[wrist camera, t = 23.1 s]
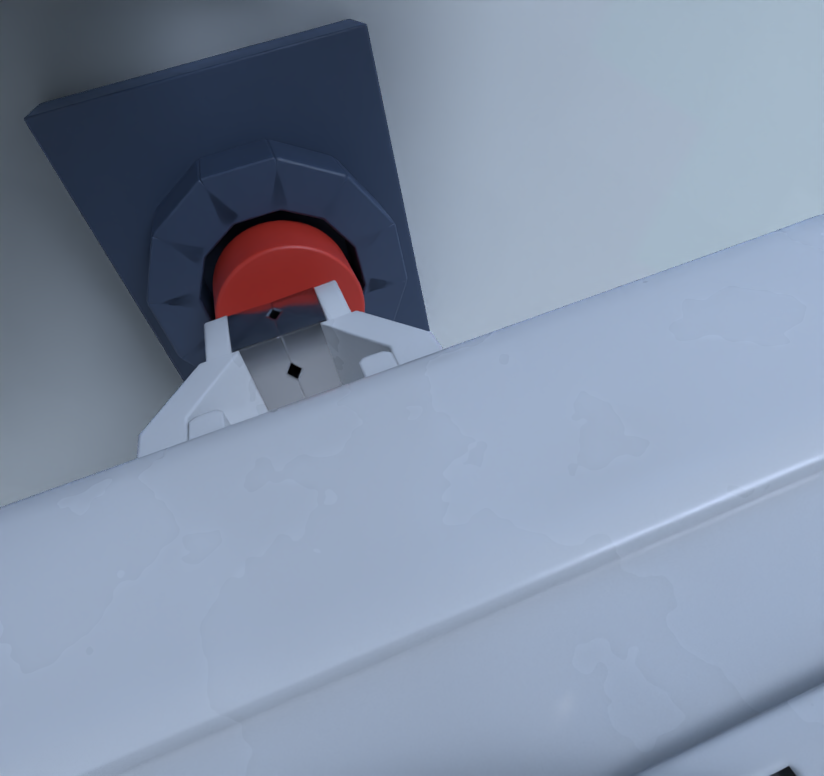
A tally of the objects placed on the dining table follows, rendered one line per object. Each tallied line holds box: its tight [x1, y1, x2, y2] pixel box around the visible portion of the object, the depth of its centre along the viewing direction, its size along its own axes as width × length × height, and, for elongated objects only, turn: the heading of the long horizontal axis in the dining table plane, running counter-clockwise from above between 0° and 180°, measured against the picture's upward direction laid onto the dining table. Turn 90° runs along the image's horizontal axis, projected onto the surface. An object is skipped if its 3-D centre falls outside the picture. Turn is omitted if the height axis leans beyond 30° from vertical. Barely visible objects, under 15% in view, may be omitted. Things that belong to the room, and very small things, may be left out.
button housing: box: [24, 19, 430, 382], centre depth 16 cm, size 10×8×4 cm
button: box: [213, 220, 365, 319], centre depth 14 cm, size 4×4×2 cm
